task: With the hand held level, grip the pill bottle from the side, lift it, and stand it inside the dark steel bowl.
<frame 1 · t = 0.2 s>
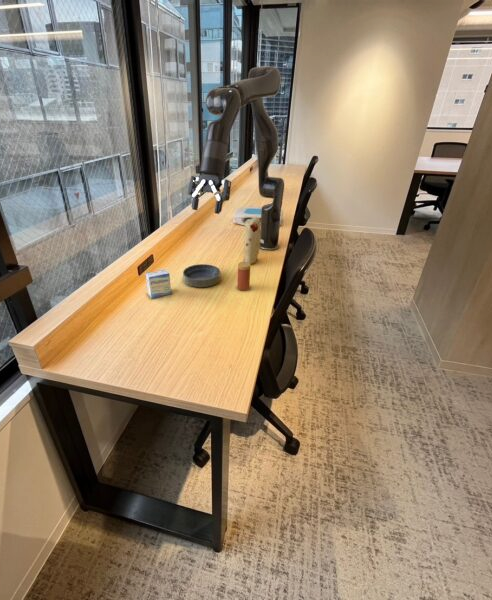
hand: (205, 211, 106), 31 cm above the table, tool tilted 20°, fingers open, 8 cm apart
bowl: (202, 279, 133), on the table
medicine box: (159, 294, 123), on the table
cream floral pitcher: (251, 262, 149), on the table
document scanner: (258, 221, 202), on the table
pill bottle: (243, 288, 127), on the table
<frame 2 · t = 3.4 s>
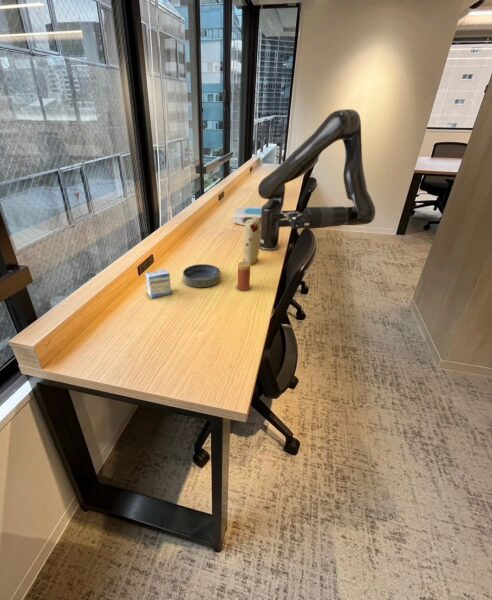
hand: (274, 220, 116), 26 cm above the table, tool horizontal, fingers open, 8 cm apart
nothing on the table moved.
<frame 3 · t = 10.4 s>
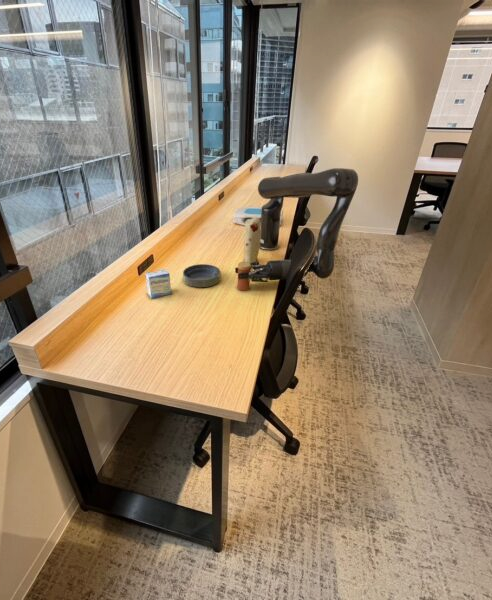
hand: (237, 273, 123), 7 cm above the table, tool horizontal, fingers closed on pill bottle, 4 cm apart
pill bottle: (243, 288, 127), on the table, touching gripper
everything else where it was.
when the fingers open (7 cm above the table, at t = 19.9 s): pill bottle stays where it is, resting on bowl.
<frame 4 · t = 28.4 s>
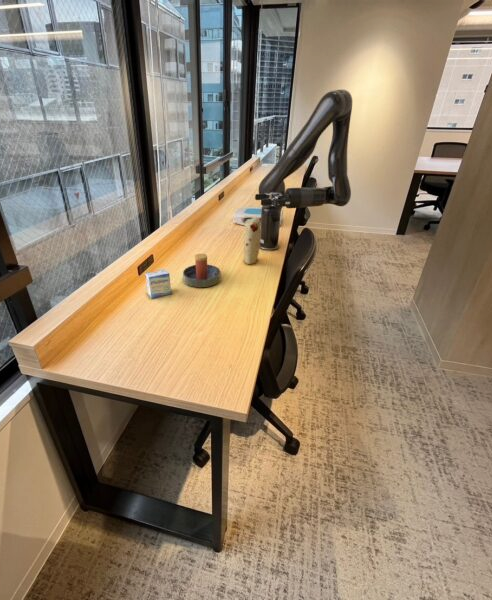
hand: (258, 199, 125), 30 cm above the table, tool horizontal, fingers open, 8 cm apart
pill bottle: (202, 278, 133), resting on bowl
everything else where it was.
at the end: pill bottle inside the target area in the bowl (0.1 cm from its centre), point 0.5 cm above the bowl's base; the gripper is holding nothing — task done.
